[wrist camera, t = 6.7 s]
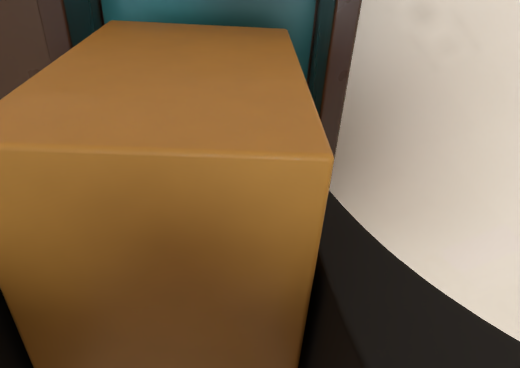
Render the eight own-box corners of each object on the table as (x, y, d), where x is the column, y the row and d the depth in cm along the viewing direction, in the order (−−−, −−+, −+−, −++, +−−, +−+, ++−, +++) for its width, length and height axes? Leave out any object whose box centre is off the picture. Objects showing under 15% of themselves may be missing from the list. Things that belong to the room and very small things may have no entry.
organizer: (-46, 231, 16) (-101, 288, 13) (-198, -99, 10) (-343, -106, 8) (301, 239, 17) (311, 295, 14) (344, -65, 11) (373, -62, 8)
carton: (142, 253, 13) (73, 468, 8) (109, 19, 9) (-66, 143, 4) (268, 256, 13) (281, 468, 8) (288, 28, 9) (336, 155, 4)
